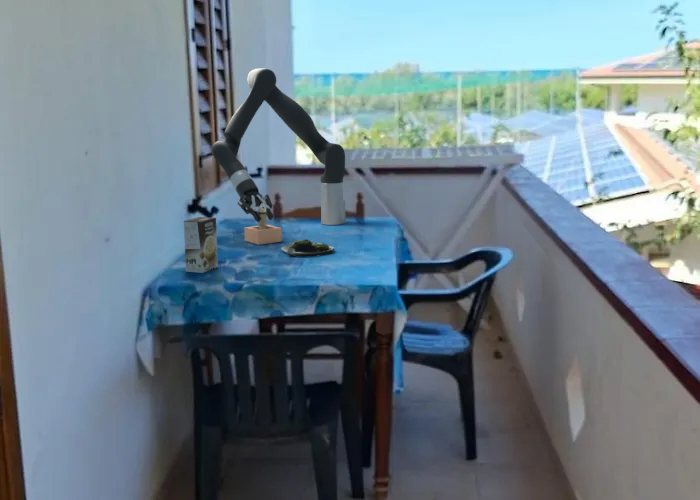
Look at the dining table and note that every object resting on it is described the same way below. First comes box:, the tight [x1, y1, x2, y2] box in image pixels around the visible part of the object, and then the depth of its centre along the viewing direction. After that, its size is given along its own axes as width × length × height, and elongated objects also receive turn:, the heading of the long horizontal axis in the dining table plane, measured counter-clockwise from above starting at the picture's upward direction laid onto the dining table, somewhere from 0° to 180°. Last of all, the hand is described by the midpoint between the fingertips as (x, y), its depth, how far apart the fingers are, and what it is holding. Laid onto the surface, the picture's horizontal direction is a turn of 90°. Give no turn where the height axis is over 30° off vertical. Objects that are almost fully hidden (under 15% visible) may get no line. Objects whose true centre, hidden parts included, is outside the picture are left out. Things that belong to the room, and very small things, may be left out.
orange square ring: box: [244, 224, 283, 246], centre depth 293 cm, size 10×10×5 cm
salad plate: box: [281, 238, 335, 257], centre depth 274 cm, size 19×18×5 cm
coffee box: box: [183, 216, 219, 274], centre depth 246 cm, size 9×6×16 cm
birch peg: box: [257, 207, 268, 230], centre depth 292 cm, size 3×3×12 cm
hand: (265, 219), depth 291 cm, fingers open, 5 cm apart
